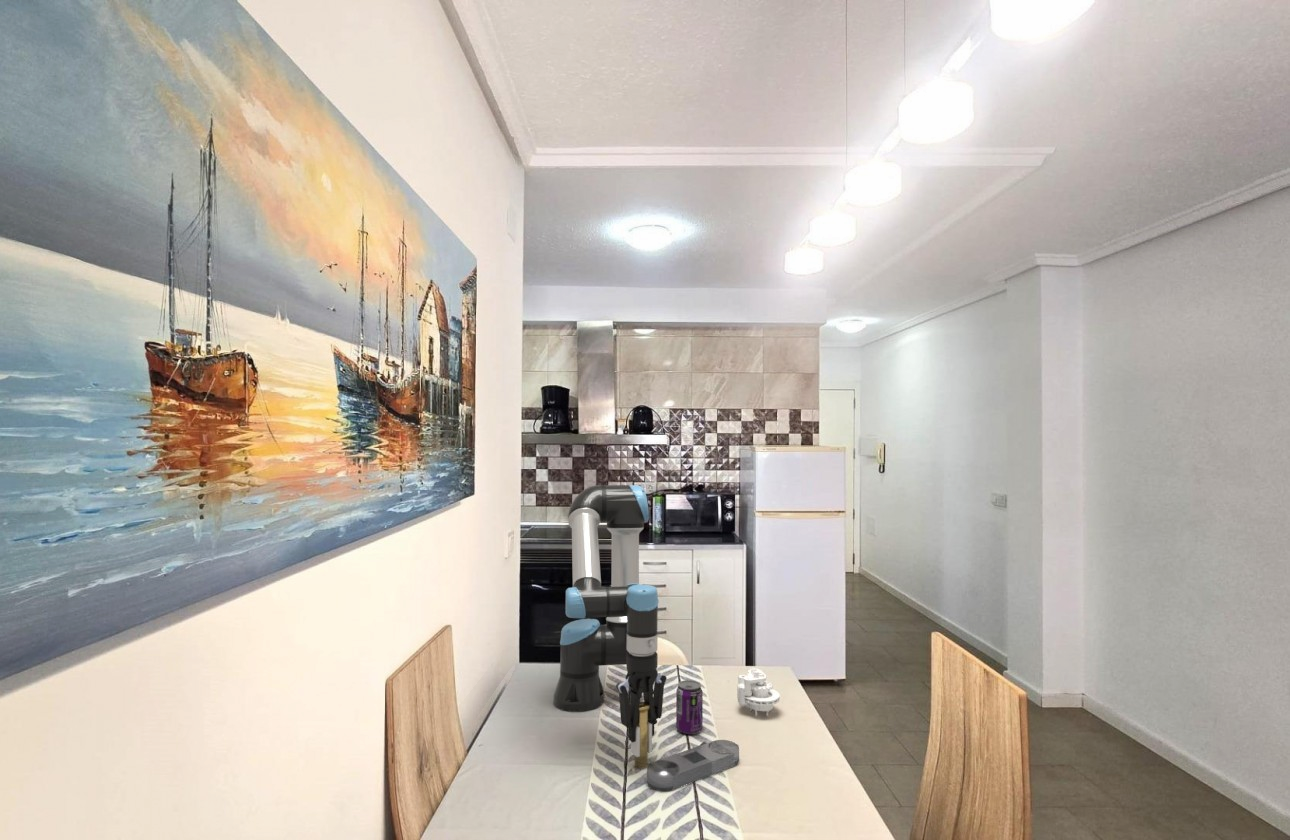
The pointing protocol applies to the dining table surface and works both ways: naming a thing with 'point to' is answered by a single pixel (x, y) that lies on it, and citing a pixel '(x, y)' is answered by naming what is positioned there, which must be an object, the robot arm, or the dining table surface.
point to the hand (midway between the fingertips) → (641, 752)
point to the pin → (643, 735)
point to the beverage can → (689, 707)
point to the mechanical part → (756, 691)
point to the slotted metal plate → (692, 765)
